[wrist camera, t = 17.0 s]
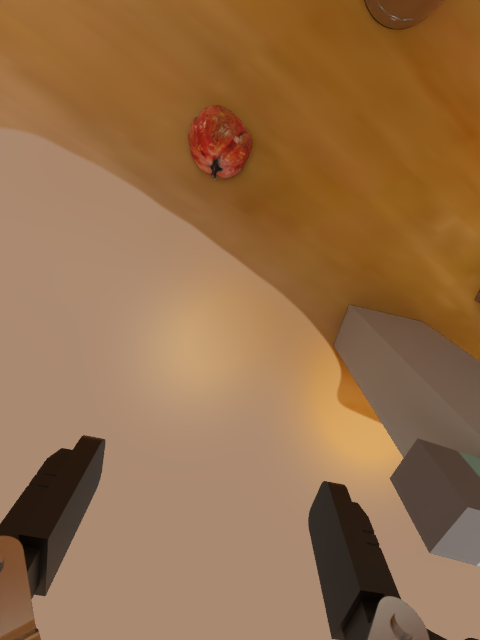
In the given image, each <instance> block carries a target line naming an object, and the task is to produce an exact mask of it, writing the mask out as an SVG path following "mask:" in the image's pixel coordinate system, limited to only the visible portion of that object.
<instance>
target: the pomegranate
mask: <svg viewBox="0 0 480 640" xmlns="http://www.w3.org/2000/svg"><path fill="white" fill-rule="evenodd" d="M188 139H189V145H190V151H191V155H192V157H193V159H194V161H195V162H196V164H197V165H198V167H199V168H200V169H201V170H203V171H204V172H205V173H207V174H211V176H212V178H213V179H214V180H215V181H216V178H215V177H216V175H217V176H219V177H222V178H228V177H232V176H234V175H236V174H237V173H239V172H240V170H241V169H242V168H243V166H244V164H245V162H246V160H247V158H248V156H249V153H250V151H251V148H252V139H251V136H250V134H249V132H248V131H247V130H246V128H245V127H244V126H243V124H242V122H241V121H240V120H239V119H238V118H236V117H235V116H234V115H233V114H232V113H231V111H229V110H227V109H225V108H224V107H222V106H219V105H218V106H209V107H207V108H205V109H204V110H203V111H202V112H201V113H200V115H199V116H198V117H196V118H195V119H194V120H193V122H192V123H191V126H190V129H189V135H188Z"/></svg>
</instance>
